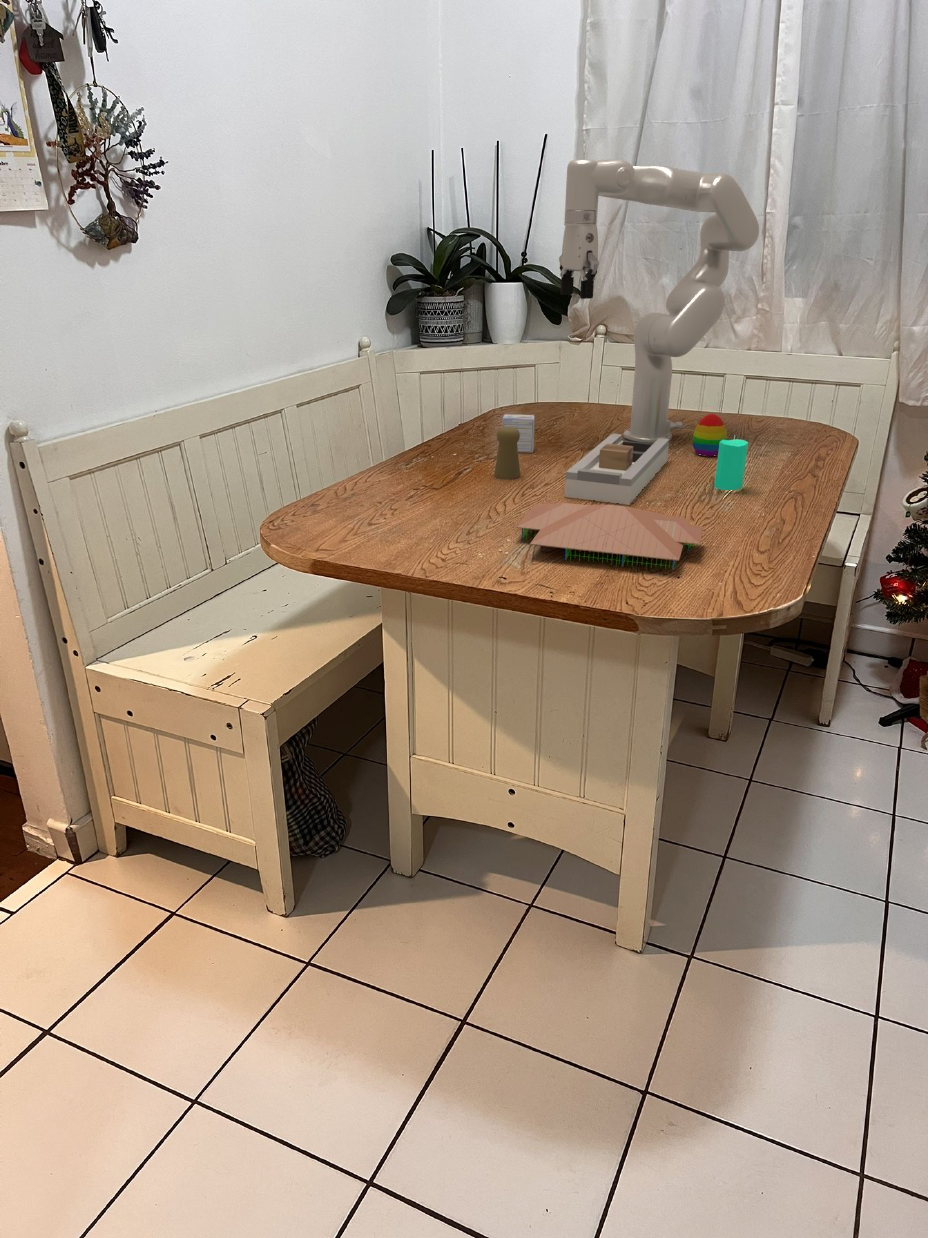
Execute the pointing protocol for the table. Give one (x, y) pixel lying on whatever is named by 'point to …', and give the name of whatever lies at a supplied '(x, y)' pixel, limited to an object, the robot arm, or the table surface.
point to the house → (610, 531)
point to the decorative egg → (709, 435)
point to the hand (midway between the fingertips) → (576, 296)
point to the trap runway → (616, 472)
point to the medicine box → (522, 430)
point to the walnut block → (616, 457)
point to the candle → (731, 464)
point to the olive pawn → (507, 454)
